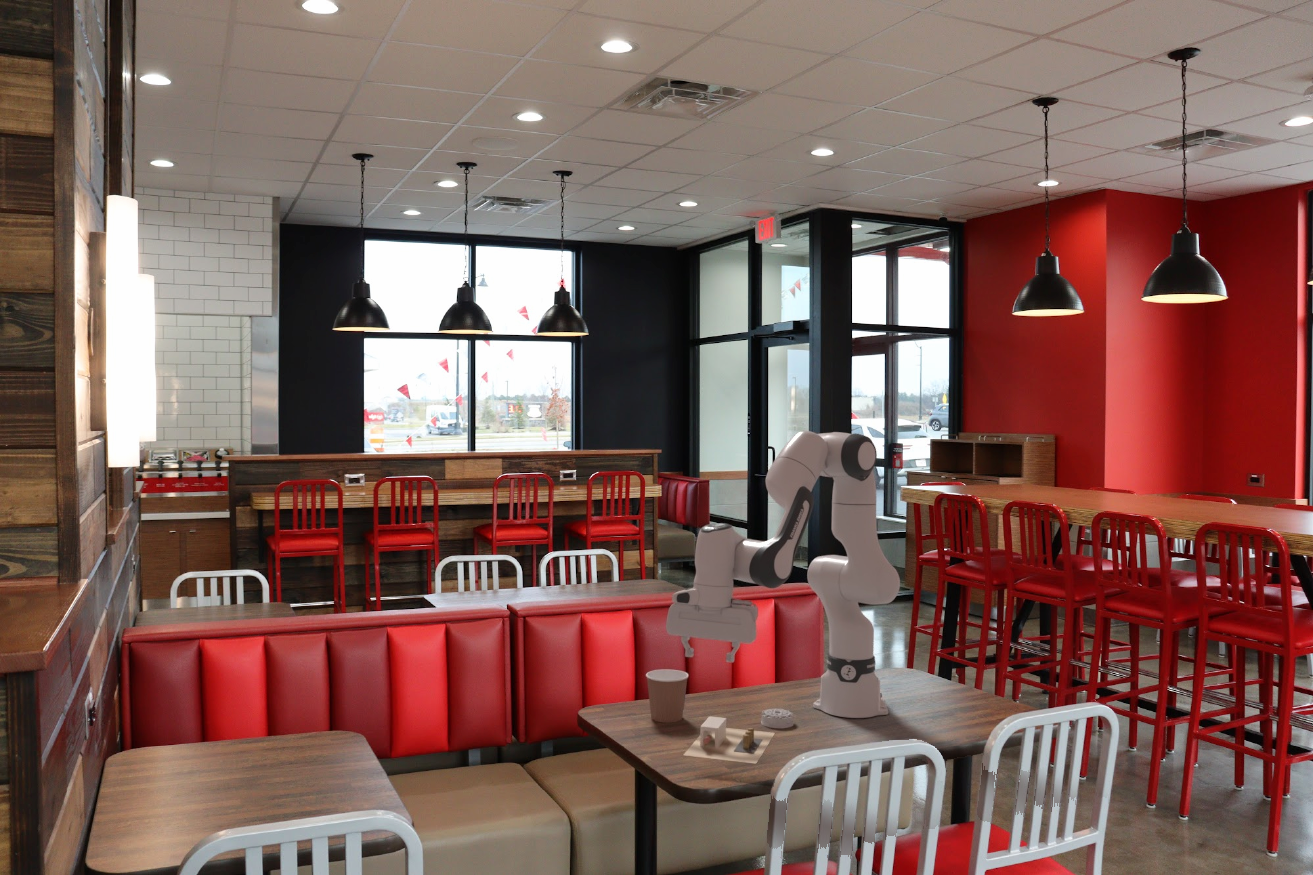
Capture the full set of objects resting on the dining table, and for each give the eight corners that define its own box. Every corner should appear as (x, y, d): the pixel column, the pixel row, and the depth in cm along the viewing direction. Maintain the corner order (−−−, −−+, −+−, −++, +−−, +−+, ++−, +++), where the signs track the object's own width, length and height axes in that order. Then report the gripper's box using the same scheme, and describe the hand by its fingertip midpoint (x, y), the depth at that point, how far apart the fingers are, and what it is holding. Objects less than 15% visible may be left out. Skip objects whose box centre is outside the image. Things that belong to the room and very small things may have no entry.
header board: (707, 732, 241) (708, 713, 241) (775, 739, 236) (775, 719, 236) (682, 762, 220) (683, 741, 220) (756, 770, 215) (756, 749, 215)
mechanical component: (754, 735, 240) (797, 738, 238) (754, 716, 240) (797, 719, 238) (758, 722, 250) (799, 725, 248) (758, 704, 249) (799, 707, 247)
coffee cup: (696, 725, 246) (697, 675, 246) (662, 733, 240) (663, 682, 239) (670, 715, 254) (671, 667, 254) (636, 722, 248) (637, 673, 248)
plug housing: (708, 735, 234) (709, 716, 233) (726, 737, 232) (726, 718, 232) (696, 750, 223) (697, 730, 223) (714, 752, 222) (714, 732, 222)
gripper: (761, 599, 227) (758, 662, 227) (674, 590, 234) (671, 651, 233) (755, 603, 221) (751, 667, 221) (665, 594, 228) (662, 656, 227)
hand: (709, 659), depth 227 cm, fingers open, 8 cm apart
